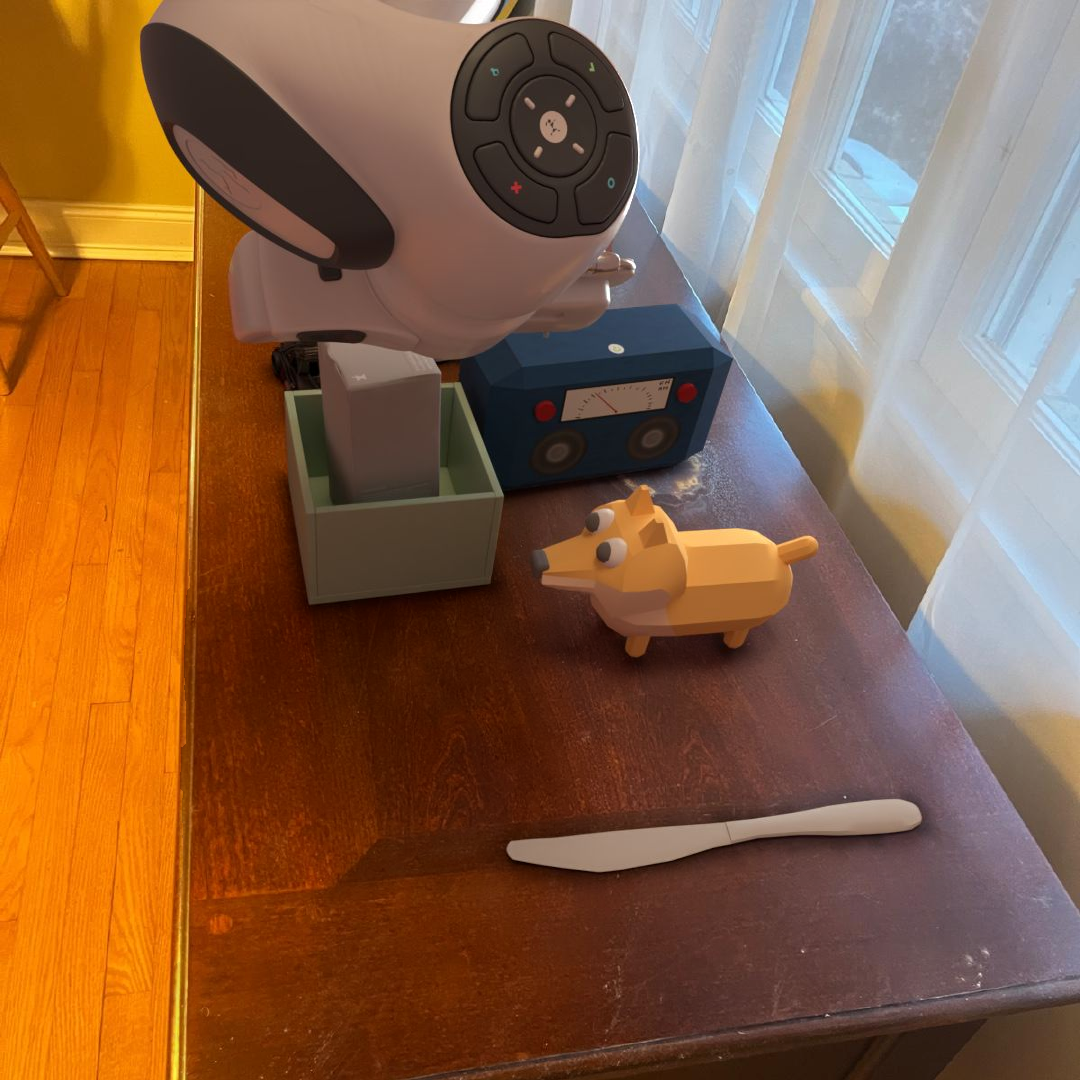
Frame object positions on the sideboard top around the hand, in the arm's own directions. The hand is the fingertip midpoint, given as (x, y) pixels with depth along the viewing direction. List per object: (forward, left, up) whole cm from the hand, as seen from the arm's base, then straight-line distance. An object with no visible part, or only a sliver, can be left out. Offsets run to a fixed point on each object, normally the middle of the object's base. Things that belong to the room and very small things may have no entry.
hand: (401, 325), depth 60 cm
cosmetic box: (-1, +3, -19) cm, 19 cm away
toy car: (-3, +20, -20) cm, 29 cm away
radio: (+18, +9, -20) cm, 28 cm away
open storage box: (0, +2, -20) cm, 20 cm away
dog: (+17, -11, -20) cm, 28 cm away
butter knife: (+16, -27, -20) cm, 37 cm away
